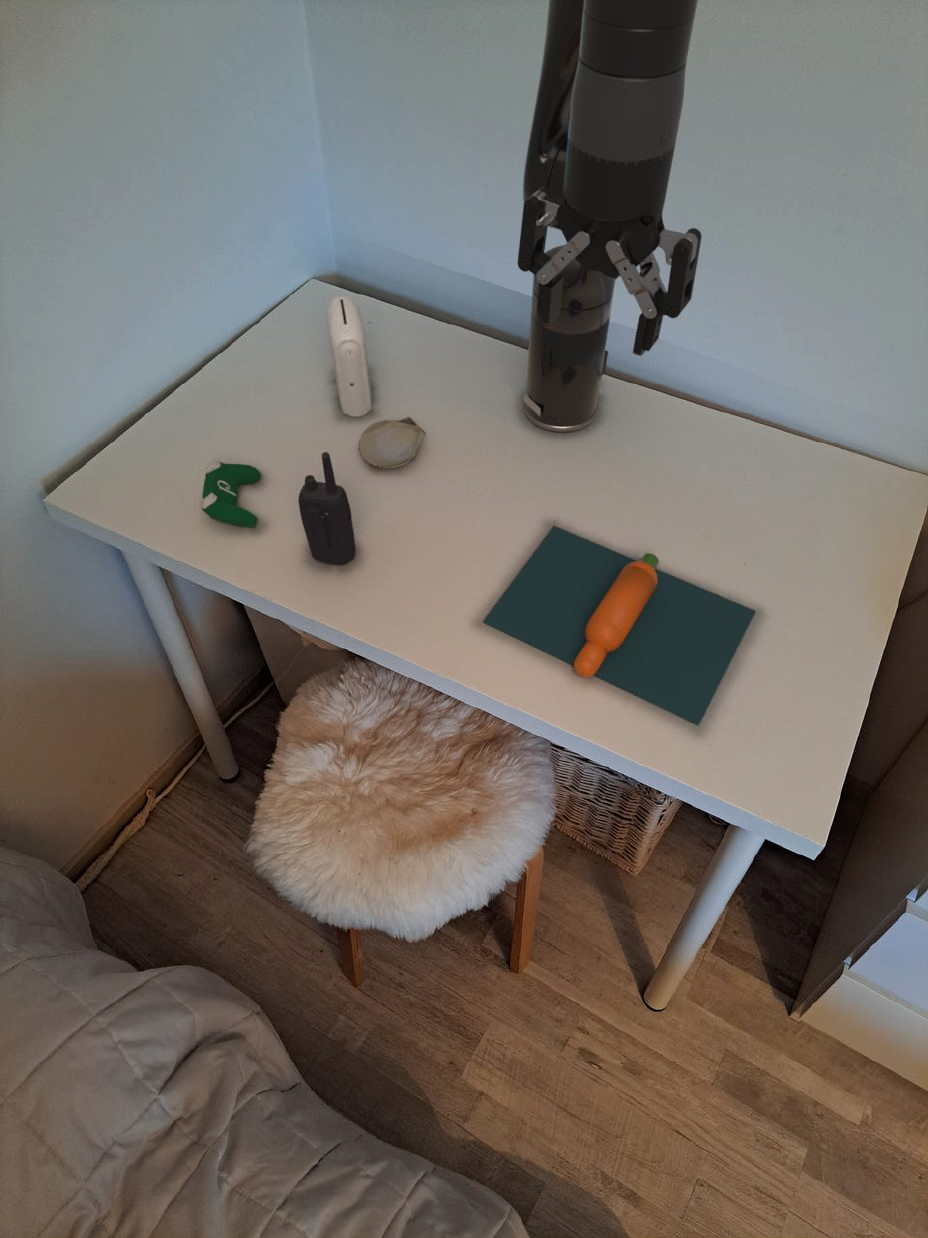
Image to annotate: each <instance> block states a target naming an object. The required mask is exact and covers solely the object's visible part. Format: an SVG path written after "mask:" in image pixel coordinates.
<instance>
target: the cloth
mask: <svg viewBox="0 0 928 1238" xmlns="http://www.w3.org/2000/svg"><path fill="white" fill-rule="evenodd" d="M635 561H637V560H636V559H634V558H632V557H629V556H627V555H624V554H622V553H619V552H617V551H615V550H614V549H613V550H612V549H610V548H608V547H606V546H603V545H601V544H598V543H596V542H594V541H592V540H588V539H587V538H584V537H582V536H580V535H577V534H574V533H572V532H570V531H568V530H565V529H563V528H561V527H559V526H556V525H553V526H552V528H551V529H550V530H549V532H547V534H546V536H545V537H544V539H543V540H542V541H541V543H540V544H539V545H538V547H537V548H536V549H535V550H534V552H533V553H532V554H531V556H530V558H529V559H528V560H527V561H526V563H525V564H524V565H523V567H522V568H521V569H520V571H519V572H518V573H517V575H516V576H515V578H514V579H513V580H512V582H510V584H509V585H508V587H507V589H505V591H504V592H503V593H502V595H501V596H500V598H499V599H498V600H497V602H496V603H495V605H494V606H493V607H492V609H491V610H490V611H489V612H488V614H487V616H485V618H484V619H483V622H482V623H483V624H485V625H486V626H490V627H491V628H494V629H496V630H498V631H500V632H502V633H504V634H506V635H507V636H510V637H512V638H514V639H517V640H519V641H520V642H523V643H525V644H527V645H529V646H531V647H533V648H535V649H537V650H539V651H542V652H543V653H546V654H548V655H550V656H552V657H554V658H555V659H559V660H560V661H563V662H564V663H567V664H569V665H571V666H573V667H574V662H575V659H576V657H577V656H578V654H579V653H580V651H581V650H582V648H583V647H584V645H585V644H586V642H587V640H586V636H585V629H586V625H587V623H588V621H589V620H590V618H591V617H592V615H593V614H594V612H595V611H596V609H597V608H598V606H599V604H600V603H601V601H602V600H603V598H604V597H605V595H606V594H607V592H608V591H609V589H610V588H611V586H612V585H613V583H614V582H615V580H616V578H617V577H618V575H619V574H620V572H621V571H622V569H623V568H624V567H625V566H626V565H628V564H629V563H632V562H635ZM655 572H656V574H657V580H658V581H657V586H656V588H655V590H654V592H653V594H652V595H651V597H650V598H649V600H648V602H647V603H646V605H645V607H644V608H643V610H642V612H641V613H640V615H639V616H638V618H637V620H636V621H635V623H634V625H633V626H632V628H631V630H630V631H629V633H628V634H627V636H626V638H625V639H624V641H623V643H622V644H621V645H620V646H619V647H618V648H617V649H615V650H613V651H611V652H608V654H607V655H606V657H605V659H604V660H603V662H602V664H601V665H600V667H599V668H598V670H597V672H596V673H595V674H594V675H593V677H596V678H598V679H600V680H601V681H604V682H607V683H608V684H611V685H613V686H614V687H616V688H619V689H621V690H623V691H625V692H627V693H629V694H631V695H633V696H635V697H637V698H639V699H641V700H643V701H646V702H648V703H650V704H652V705H654V706H655V707H658V708H661V709H663V710H665V711H667V712H669V713H671V714H673V715H675V716H677V717H679V718H681V719H684V720H685V721H688V722H690V723H692V724H693V725H696V726H700V724H701V722H702V719H703V718H704V715H705V713H706V712H707V710H708V708H709V706H710V704H711V701H712V699H713V698H714V696H715V693H716V692H717V690H718V687H719V686H720V684H721V682H722V680H723V678H724V676H725V673H726V672H727V670H728V668H729V666H730V664H731V662H732V660H733V658H734V656H735V653H737V650H738V648H739V646H740V643H741V642H742V639H743V638H744V636H745V634H746V632H747V630H748V628H749V626H750V624H751V622H752V620H753V618H754V616H755V614H756V611H757V610H754V609H752V608H749V607H747V606H745V605H742V604H741V603H738V602H735V601H733V600H731V599H729V598H726V597H724V596H721V595H719V594H717V593H715V592H712V591H709V590H707V589H705V588H702V587H700V586H698V585H695V584H693V583H690V582H688V581H686V580H683V579H681V578H679V577H676V576H674V575H672V574H670V573H668V572H665V571H663V570H660V569H657V568H656V569H655Z"/></svg>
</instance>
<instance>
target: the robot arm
mask: <svg viewBox="0 0 928 1238" xmlns="http://www.w3.org/2000/svg"><path fill="white" fill-rule="evenodd" d="M698 2H699V0H549V1H548V9H547V19H546V30H545V39H544V45H543V53H542V61H541V68H540V75H539V81H538V85H537V92H536V98H535V103H534V109H533V113H532V114H533V115H532V120H531V125H530V131H529V137H528V143H527V148H526V149H527V150H526V155H525V162H524V168H523V178H522V201H523V202H522V203H523V204H522V205H523V206H522V218H521V226H520V234H519V235H520V236H519V244H518V245H519V246H518V254H517V266H518V269H519V270H520V271H522V272H526V273H527V272H530V273H531V274H532V288H531V289H532V292H531V306H530V324H529V336H528V337H529V338H528V339H529V341H528V352H527V353H528V355H527V371H526V373H527V374H526V386H525V392H524V393H523V402H524V403H523V409H524V410H523V411H524V413H525V416H526V418H527V419H528V420H529V421H530V422H531V423H532V424H533V425H535V426H536V427H539V429H540V428H541V429H543V430H546V431H550V432H555V433H570V432H576V431H580V430H582V429H584V428H586V427H587V426H589V425H590V424H591V423H592V422H593V421H594V420H595V418H596V416H597V412H598V401H599V394H600V393H599V392H600V388H601V381H602V377H603V375H604V374H605V373H606V369H607V361H608V356H609V351H608V350H606V347H607V341H608V335H609V334H608V333H609V326H610V320H611V312H612V307H613V306H612V305H613V299H614V292H615V286H616V280H617V279H618V278H619V277H620V279H621V281H622V282H623V284H624V286H625V288H626V290H627V292H628V294H629V295H631V296H634V299H635V301H636V303H637V305H638V307H639V309H640V311H641V313H640V315H639V316H638V320H637V327H636V331H635V338H634V343H633V349H632V354H634V355H635V356H639V357H642V356H643V355H644V354H645V352H650V351H651V349H652V348H653V347H654V345H655V344H656V343H657V341H658V340H659V338H660V333H661V328H662V323H663V319H664V316H667V317H668V318H670V319H677V318H678V317H679V316H680V315H681V313H682V311H683V310H685V308H686V307H687V305H688V304H689V303H690V302H691V300H692V298H693V291H694V285H695V278H696V273H697V267H698V262H699V261H698V260H699V256H700V250H701V249H700V248H701V243H702V232H701V231H700V230H699V229H697V228H694V227H691V228H689V229H688V230H687V231H686V232H685V233H683V232H679V231H675V230H670V229H666V227H665V224H664V219H663V211H664V207H665V203H666V198H667V193H668V186H669V183H670V175H671V170H672V164H673V159H674V153H675V150H676V143H677V139H678V138H677V137H678V133H679V128H680V122H681V118H682V117H681V116H682V111H683V104H684V97H685V85H686V70H687V63H688V62H687V60H688V56H689V51H690V45H691V40H692V34H693V28H694V24H695V23H694V22H695V18H696V12H697V8H698ZM548 228H551V229H554V230H557V231H561V233H562V235H563V237H564V239H565V241H566V243H565V244H562V245H561V244H560V245H558V246H555V247H553V248H549V249H548V250H546V242H547V235H548ZM658 248H660V249H662V250H663V252H664V258H665V263H666V265H668V266H670V271H669V276H668V277H669V278H668V284H667V289H666V286H665V284H664V283H663V281H662V278H661V276H660V275H661V274H660V272H661V268H660V265H659V263H658V261H657V259H656V257H655V253H654V252H655V251H656V250H657V249H658ZM637 267H639V270H638V268H637Z"/></svg>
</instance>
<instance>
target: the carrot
mask: <svg viewBox="0 0 928 1238" xmlns="http://www.w3.org/2000/svg"><path fill="white" fill-rule="evenodd" d="M659 564H660V560H659V558H658V557H657V556H656V555H655V554H654V553H650V552H649V553H645V554H644V555H643V556H642V557H641V559H640V560H636V561H635V562H632V563H629V564H628V565H626V566H625V567H624V568H623V569H622V571H621V572H620V574H619V575H618V577H617V578H616V580H615V582H614V583H613V585H612V586H611V588H610V589H609V591H608V592H607V594H606V595H605V597H604V598H603V600H602V601H601V603H600V604H599V606H598V608H597V609H596V611H595V612H594V614H593V615H592V617H591V618H590V620H589V621H588V623H587V625H586V629H585V636H586V640H587V642H586V644H585V645H584V647H583V648H582V650H581V651H580V653H579V654H578V656H577V657H576V659H575V662H574V666H573V668H574V670H575V672H576V674H578V675H579V676H580V677H582V678H583V677H584V678H589V677H592V676H594V674H595V673H596V672H597V670H598V668H599V667H600V665H601V664H602V662H603V660H604V659H605V657H606V655H607V654H608V652H611V651H613V650H615V649H617V648H618V647H619V646H620V645H621V644H622V643H623V641H624V639H625V638H626V636H627V634H628V633H629V631H630V630H631V628H632V626H633V625H634V623H635V621H636V620H637V618H638V616H639V615H640V613H641V612H642V610H643V608H644V607H645V605H646V603H647V602H648V600H649V598H650V597H651V595H652V594H653V592H654V590H655V588H656V586H657V581H658V580H657V574H656V572H655V569H657V568H658V565H659Z"/></svg>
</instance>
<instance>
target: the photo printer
mask: <svg viewBox="0 0 928 1238" xmlns="http://www.w3.org/2000/svg"><path fill="white" fill-rule="evenodd" d="M326 319H327V329H328V337H329V342H330V348H331V354H332V362H333V366H334V373H335V381H336V387H337V388H336V389H337V395H338V399H339V404H340V408H341V411H342V413H343V414H344V415H347V416H349V417H353V418H357V417H363V416H366V415H367V414H368V413H369V412H371V410H372V391H371V381H370V380H371V379H370V370H369V363H368V355H367V354H368V353H367V347H366V346H367V345H366V339H365V329H364V325H363V320H362V319H363V318H362V315H361V312H360V308H359V306H358V305H357V302H356V301H355V300H354V299H352V297H351V296H349V295H342V296H340V295H339V296H338V295H336V296H334V297H333V298H332V299H331V300H330V302H329V304H328V307H327V309H326Z"/></svg>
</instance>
